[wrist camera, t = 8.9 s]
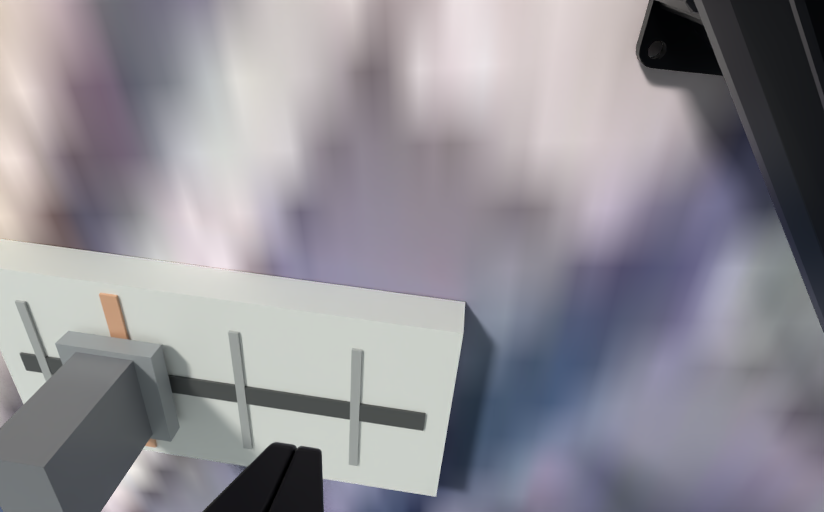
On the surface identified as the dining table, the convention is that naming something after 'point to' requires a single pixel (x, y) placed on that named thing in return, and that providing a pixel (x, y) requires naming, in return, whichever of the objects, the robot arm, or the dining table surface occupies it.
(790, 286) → the dining table surface
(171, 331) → the fader console
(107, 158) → the dining table surface
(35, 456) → the fader slider
